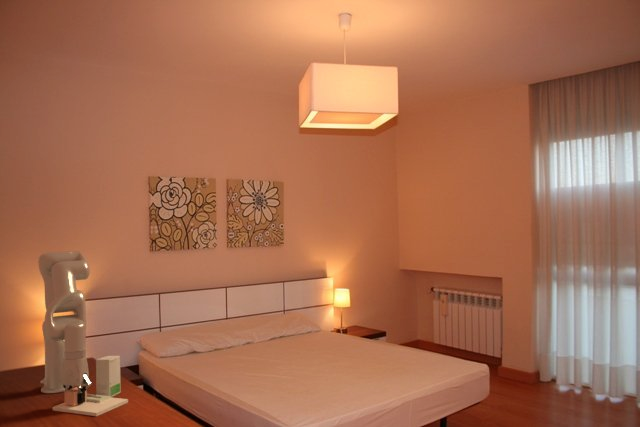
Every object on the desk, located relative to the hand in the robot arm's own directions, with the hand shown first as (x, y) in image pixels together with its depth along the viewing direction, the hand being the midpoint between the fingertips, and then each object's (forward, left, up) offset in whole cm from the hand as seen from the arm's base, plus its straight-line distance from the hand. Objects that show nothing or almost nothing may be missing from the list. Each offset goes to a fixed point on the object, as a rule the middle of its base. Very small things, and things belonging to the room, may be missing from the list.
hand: (75, 401), depth 198 cm
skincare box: (+1, +15, -2) cm, 15 cm away
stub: (0, 0, 0) cm, 0 cm away
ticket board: (+5, +2, -2) cm, 6 cm away
